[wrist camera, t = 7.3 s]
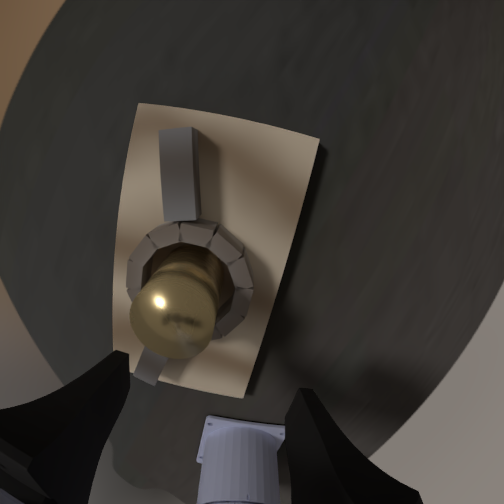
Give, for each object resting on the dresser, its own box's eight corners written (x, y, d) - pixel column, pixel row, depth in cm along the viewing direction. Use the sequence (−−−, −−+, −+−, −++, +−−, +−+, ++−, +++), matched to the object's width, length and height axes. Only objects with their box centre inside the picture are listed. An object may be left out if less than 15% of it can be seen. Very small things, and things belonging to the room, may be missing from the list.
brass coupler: (217, 308, 19) (205, 367, 13) (159, 294, 19) (128, 346, 13) (230, 252, 18) (221, 297, 12) (167, 237, 18) (131, 275, 12)
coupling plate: (243, 390, 23) (242, 416, 20) (118, 359, 22) (105, 381, 19) (315, 140, 17) (328, 136, 14) (144, 105, 16) (125, 97, 13)
